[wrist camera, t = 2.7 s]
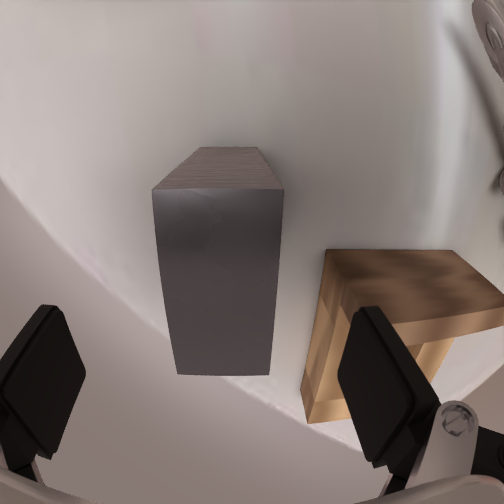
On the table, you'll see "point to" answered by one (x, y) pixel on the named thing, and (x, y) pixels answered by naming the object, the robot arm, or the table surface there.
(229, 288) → the brushed grey post
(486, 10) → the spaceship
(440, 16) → the table surface
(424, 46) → the table surface
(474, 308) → the wooden frame stool
